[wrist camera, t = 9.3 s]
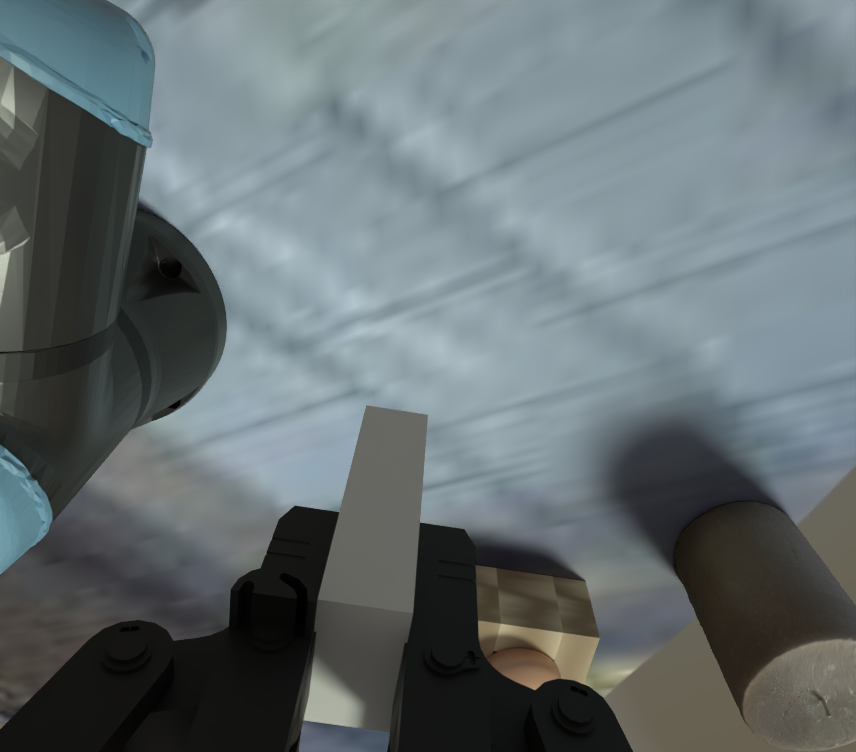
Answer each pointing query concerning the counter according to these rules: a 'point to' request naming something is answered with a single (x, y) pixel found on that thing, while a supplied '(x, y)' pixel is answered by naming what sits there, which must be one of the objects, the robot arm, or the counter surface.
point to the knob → (525, 666)
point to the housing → (537, 617)
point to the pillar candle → (773, 624)
